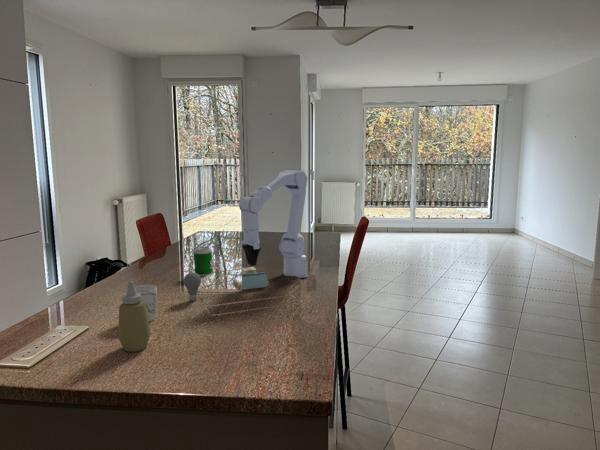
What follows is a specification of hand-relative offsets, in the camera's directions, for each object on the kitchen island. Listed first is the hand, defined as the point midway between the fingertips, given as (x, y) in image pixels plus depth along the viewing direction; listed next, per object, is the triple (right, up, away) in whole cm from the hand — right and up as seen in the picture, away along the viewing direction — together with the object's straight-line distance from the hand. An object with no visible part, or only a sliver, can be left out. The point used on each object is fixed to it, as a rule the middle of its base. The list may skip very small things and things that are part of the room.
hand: (252, 264), depth 167 cm
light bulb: (-19, -12, -12) cm, 25 cm away
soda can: (-23, -7, +20) cm, 31 cm away
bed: (-1, -9, +4) cm, 10 cm away
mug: (-31, -15, -31) cm, 46 cm away
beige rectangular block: (-2, -8, +5) cm, 9 cm away
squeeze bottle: (-25, -18, -50) cm, 59 cm away
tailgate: (+1, -9, -1) cm, 9 cm away
